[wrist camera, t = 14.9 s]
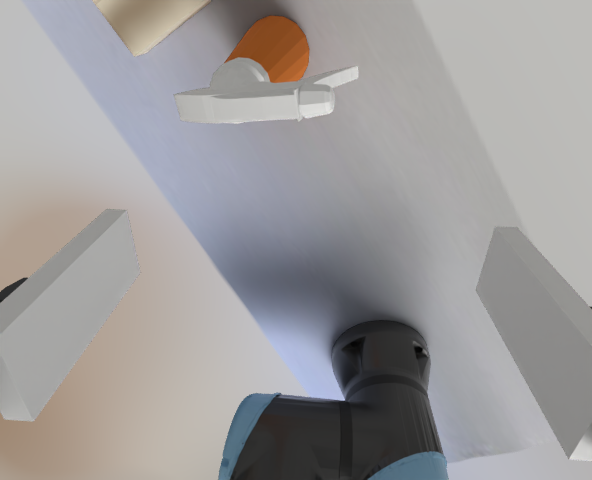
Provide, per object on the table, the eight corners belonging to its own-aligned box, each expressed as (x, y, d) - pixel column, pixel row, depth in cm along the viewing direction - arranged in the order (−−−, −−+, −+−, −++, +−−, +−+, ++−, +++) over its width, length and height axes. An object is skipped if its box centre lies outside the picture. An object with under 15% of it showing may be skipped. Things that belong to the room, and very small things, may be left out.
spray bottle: (347, 80, 42) (372, 170, 20) (249, 93, 44) (168, 190, 21) (342, 4, 39) (366, 7, 16) (236, 20, 40) (120, 45, 17)
